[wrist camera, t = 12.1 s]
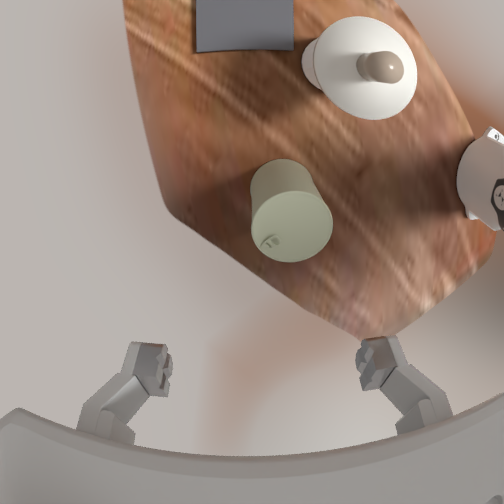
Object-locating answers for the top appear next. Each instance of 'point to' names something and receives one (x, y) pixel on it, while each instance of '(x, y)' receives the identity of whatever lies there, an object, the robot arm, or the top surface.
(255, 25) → the mat
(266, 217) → the can
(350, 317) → the top surface
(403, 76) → the lid
